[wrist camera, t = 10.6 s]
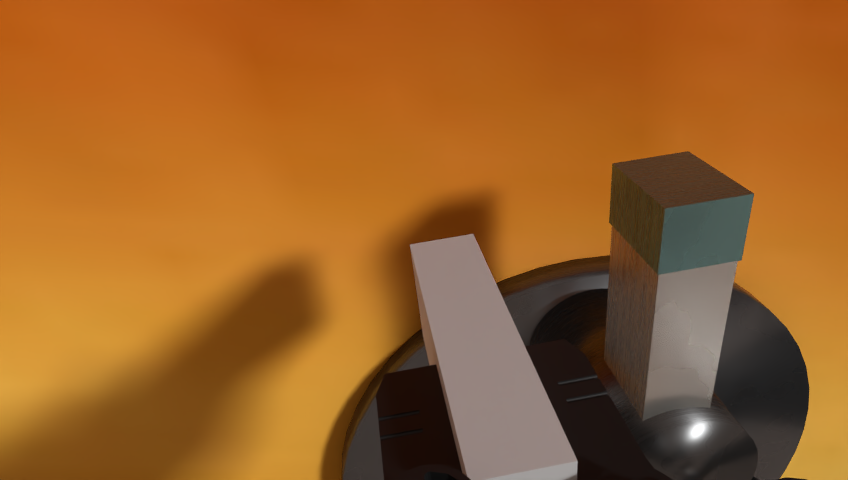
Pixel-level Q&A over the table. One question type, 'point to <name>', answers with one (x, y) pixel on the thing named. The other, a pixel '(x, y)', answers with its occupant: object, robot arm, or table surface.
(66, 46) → the table surface
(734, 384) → the tribrach base
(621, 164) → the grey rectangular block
